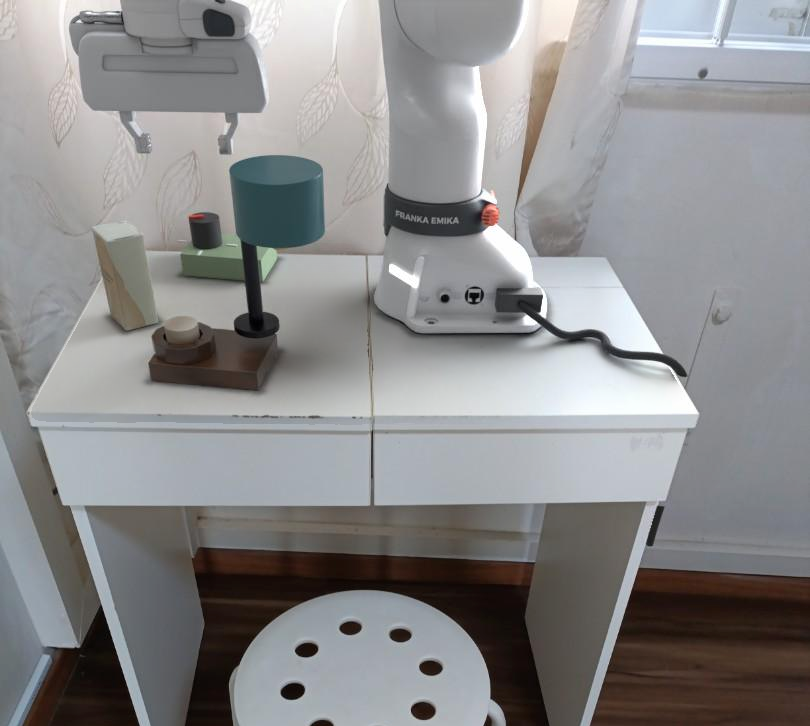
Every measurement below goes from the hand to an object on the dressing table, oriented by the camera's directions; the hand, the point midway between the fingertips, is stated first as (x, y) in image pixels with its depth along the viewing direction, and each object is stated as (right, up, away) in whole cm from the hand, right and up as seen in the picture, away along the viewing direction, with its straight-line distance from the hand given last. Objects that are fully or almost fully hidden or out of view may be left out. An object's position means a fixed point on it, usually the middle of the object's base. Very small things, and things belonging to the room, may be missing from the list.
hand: (186, 152), depth 93 cm
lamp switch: (+1, -23, -6) cm, 24 cm away
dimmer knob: (-1, -5, +15) cm, 16 cm away
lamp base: (+4, -26, -3) cm, 26 cm away
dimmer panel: (+2, -7, +17) cm, 19 cm away
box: (-7, -18, +5) cm, 20 cm away
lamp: (+12, -22, -5) cm, 25 cm away
